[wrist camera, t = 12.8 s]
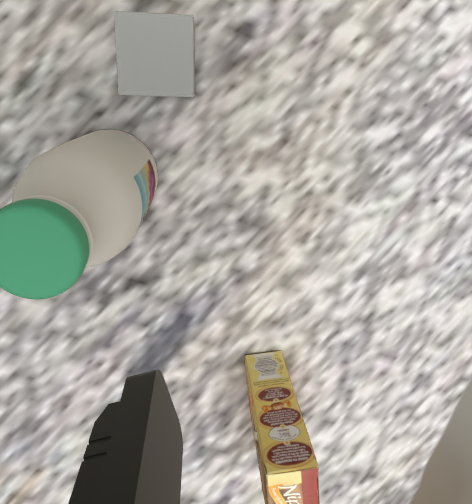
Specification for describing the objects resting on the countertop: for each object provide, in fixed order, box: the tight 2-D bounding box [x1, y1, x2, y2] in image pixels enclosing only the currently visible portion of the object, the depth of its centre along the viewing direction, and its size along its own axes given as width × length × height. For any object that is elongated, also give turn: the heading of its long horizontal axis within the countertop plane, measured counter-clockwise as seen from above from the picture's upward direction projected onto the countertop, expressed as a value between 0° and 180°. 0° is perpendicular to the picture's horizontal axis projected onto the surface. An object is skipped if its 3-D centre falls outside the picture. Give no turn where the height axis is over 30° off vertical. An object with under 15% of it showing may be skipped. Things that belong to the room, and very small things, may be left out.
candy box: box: [245, 351, 320, 504], centre depth 40 cm, size 9×4×15 cm, turn 6°
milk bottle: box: [0, 129, 158, 299], centre depth 29 cm, size 8×8×20 cm
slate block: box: [114, 11, 195, 97], centre depth 32 cm, size 5×5×7 cm
